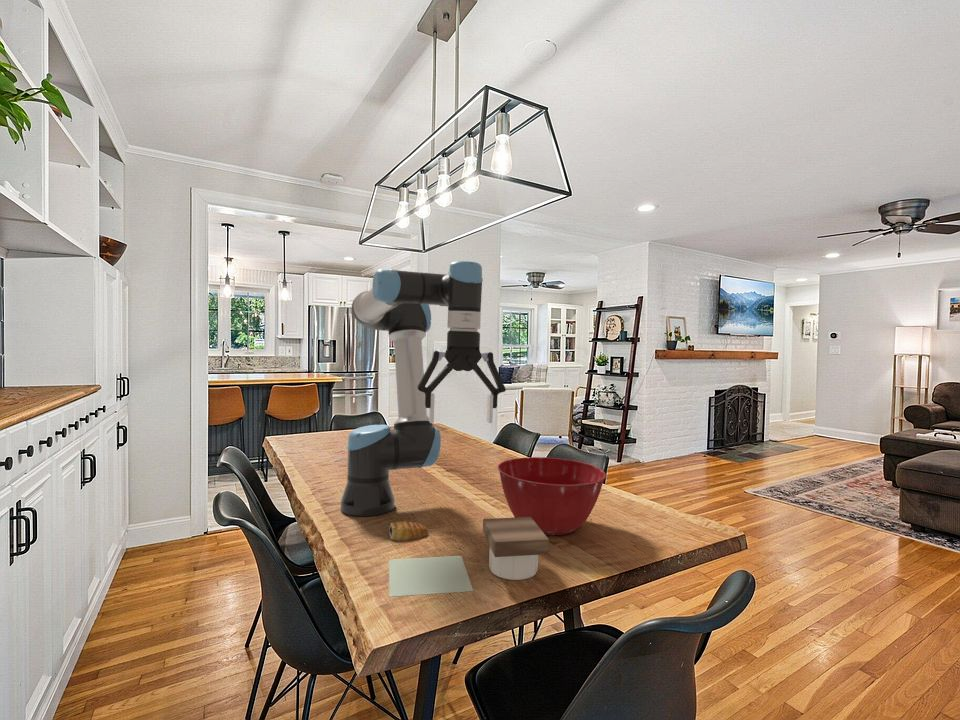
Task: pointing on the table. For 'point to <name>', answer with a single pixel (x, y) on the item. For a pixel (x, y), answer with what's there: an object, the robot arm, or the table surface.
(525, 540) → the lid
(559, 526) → the mixing bowl
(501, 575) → the bowl
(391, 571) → the mat
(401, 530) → the pastry
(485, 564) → the table surface
